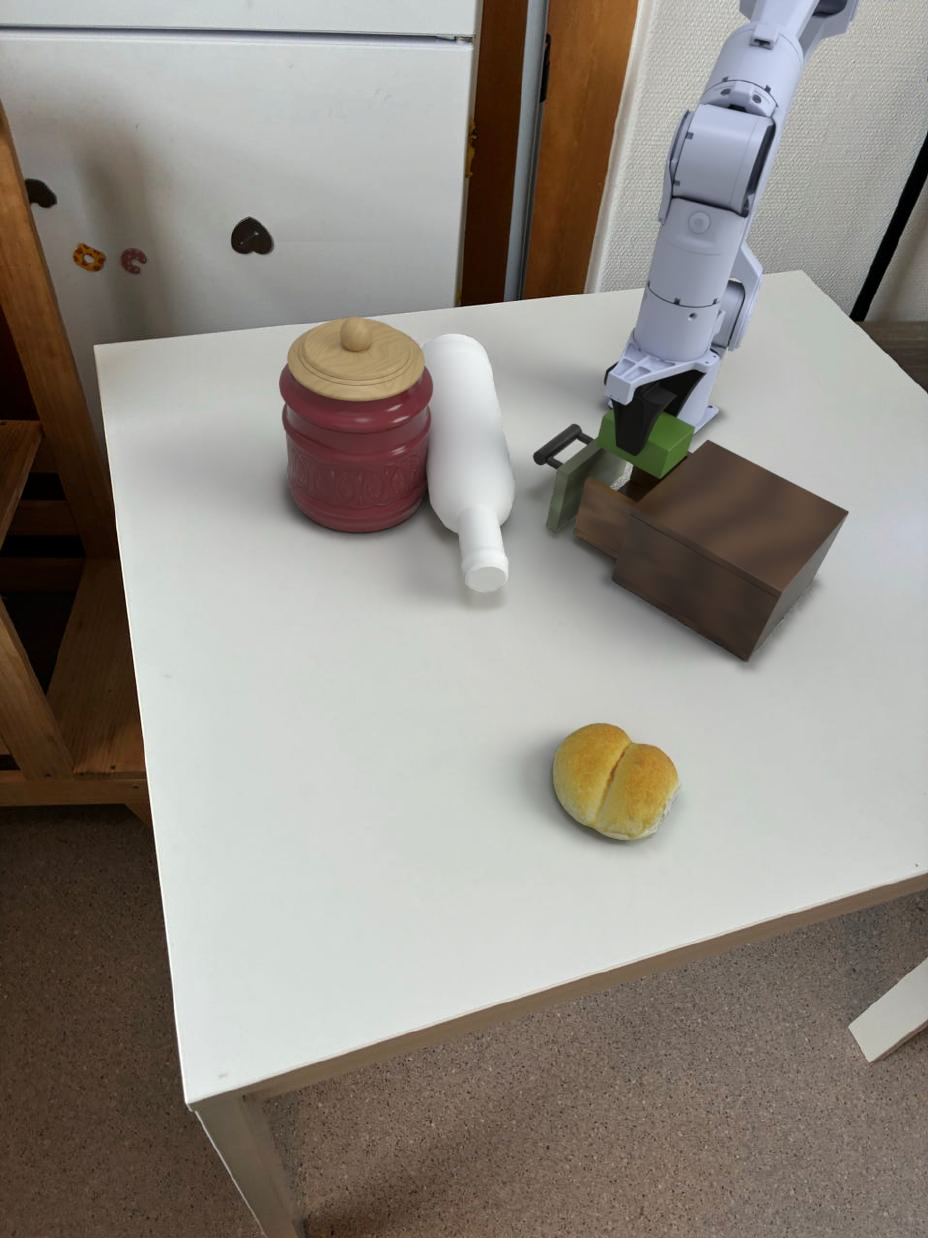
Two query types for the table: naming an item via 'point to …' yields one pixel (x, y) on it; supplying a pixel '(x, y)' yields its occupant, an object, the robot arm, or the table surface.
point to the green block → (652, 443)
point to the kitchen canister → (356, 424)
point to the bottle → (469, 457)
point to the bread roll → (614, 782)
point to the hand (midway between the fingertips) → (643, 436)
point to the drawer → (593, 490)
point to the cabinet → (726, 546)
